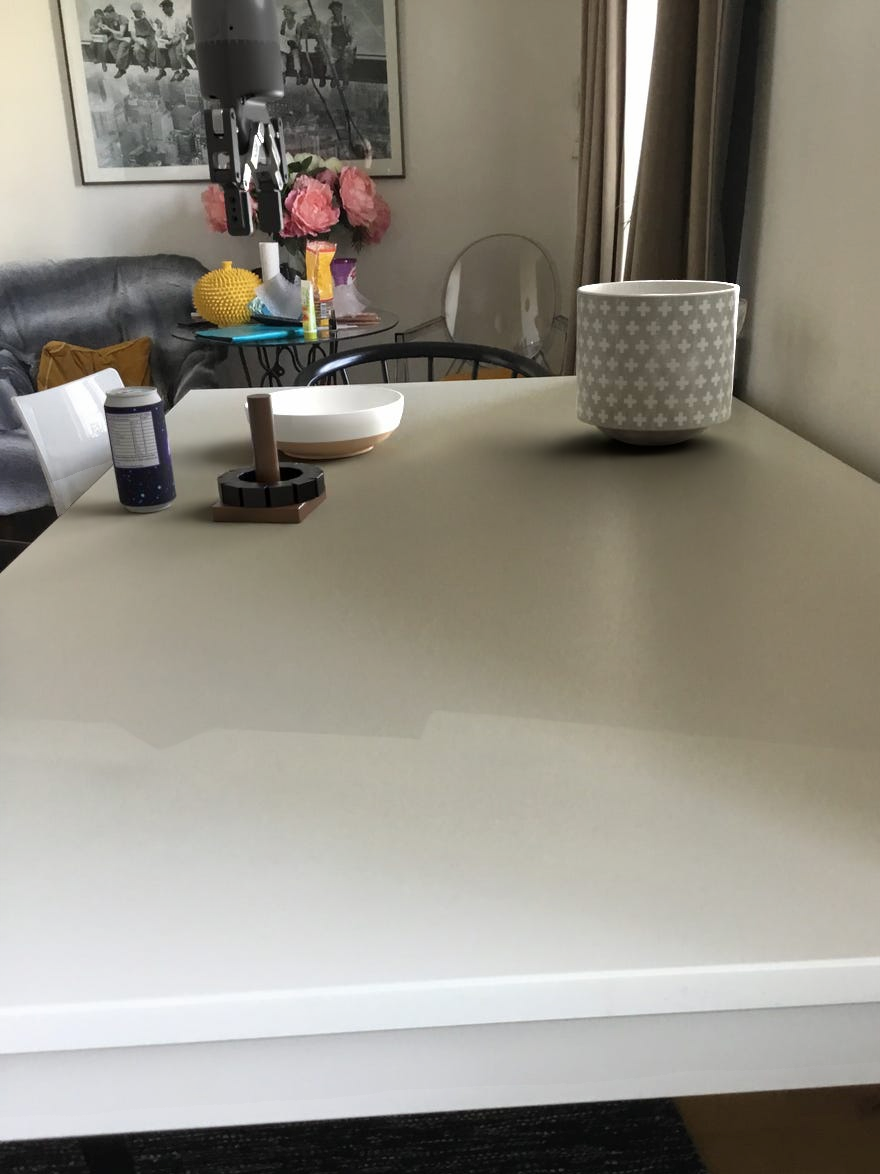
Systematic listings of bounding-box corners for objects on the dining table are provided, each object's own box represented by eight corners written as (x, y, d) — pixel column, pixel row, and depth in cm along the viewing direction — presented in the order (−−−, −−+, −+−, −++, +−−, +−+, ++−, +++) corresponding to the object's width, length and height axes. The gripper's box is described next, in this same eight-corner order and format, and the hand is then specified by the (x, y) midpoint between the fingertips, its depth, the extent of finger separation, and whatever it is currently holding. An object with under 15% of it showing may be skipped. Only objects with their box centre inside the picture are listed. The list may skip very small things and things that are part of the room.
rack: (212, 521, 104) (197, 404, 100) (245, 496, 112) (232, 387, 108) (300, 523, 103) (288, 404, 98) (326, 498, 111) (316, 387, 106)
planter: (736, 456, 122) (747, 293, 115) (572, 456, 125) (573, 296, 118) (721, 423, 140) (731, 279, 133) (578, 423, 142) (579, 281, 135)
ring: (204, 507, 103) (201, 487, 103) (242, 480, 113) (239, 461, 112) (306, 508, 102) (304, 488, 101) (336, 481, 111) (334, 462, 110)
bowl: (426, 434, 138) (423, 387, 136) (374, 470, 121) (370, 417, 119) (289, 430, 143) (285, 384, 141) (221, 464, 126) (214, 413, 124)
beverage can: (188, 505, 110) (171, 389, 105) (139, 518, 106) (119, 397, 101) (159, 496, 113) (142, 383, 108) (110, 508, 109) (90, 391, 105)
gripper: (248, 28, 88) (269, 236, 94) (302, 48, 100) (317, 230, 107) (164, 33, 89) (190, 238, 95) (227, 52, 102) (246, 232, 108)
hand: (257, 234), depth 101 cm, fingers open, 8 cm apart
